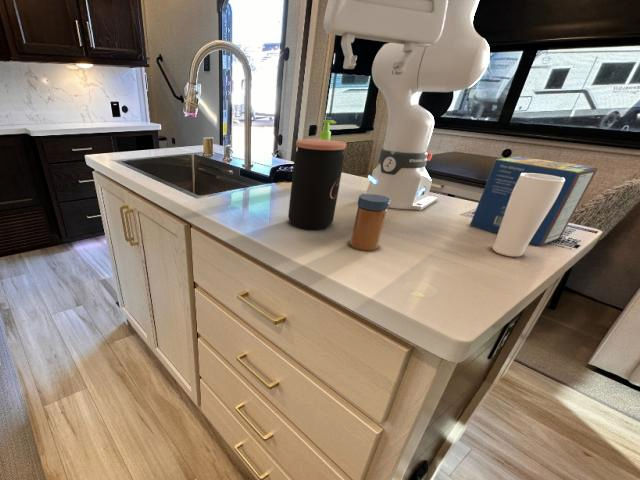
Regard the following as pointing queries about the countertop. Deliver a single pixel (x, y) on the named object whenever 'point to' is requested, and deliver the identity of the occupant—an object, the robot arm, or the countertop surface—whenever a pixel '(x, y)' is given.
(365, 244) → the jam jar
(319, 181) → the coffee jar
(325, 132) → the soap dispenser
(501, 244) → the drinking glass
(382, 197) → the jam lid
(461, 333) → the countertop surface
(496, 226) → the protein box
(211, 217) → the countertop surface
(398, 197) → the robot arm
